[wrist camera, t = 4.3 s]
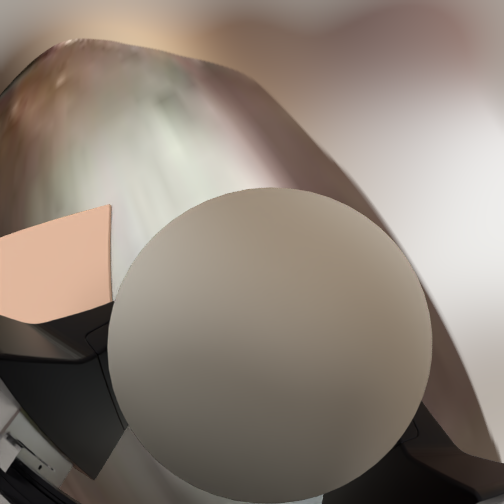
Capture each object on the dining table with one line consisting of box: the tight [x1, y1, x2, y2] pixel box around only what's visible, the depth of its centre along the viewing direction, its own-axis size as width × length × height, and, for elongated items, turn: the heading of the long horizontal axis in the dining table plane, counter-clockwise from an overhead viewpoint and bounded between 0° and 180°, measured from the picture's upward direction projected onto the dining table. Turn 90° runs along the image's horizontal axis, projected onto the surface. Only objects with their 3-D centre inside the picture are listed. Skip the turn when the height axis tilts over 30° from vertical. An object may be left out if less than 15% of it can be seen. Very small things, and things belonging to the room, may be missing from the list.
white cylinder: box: [107, 188, 432, 503], centre depth 9 cm, size 5×5×12 cm
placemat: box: [0, 204, 112, 324], centre depth 16 cm, size 13×13×1 cm
